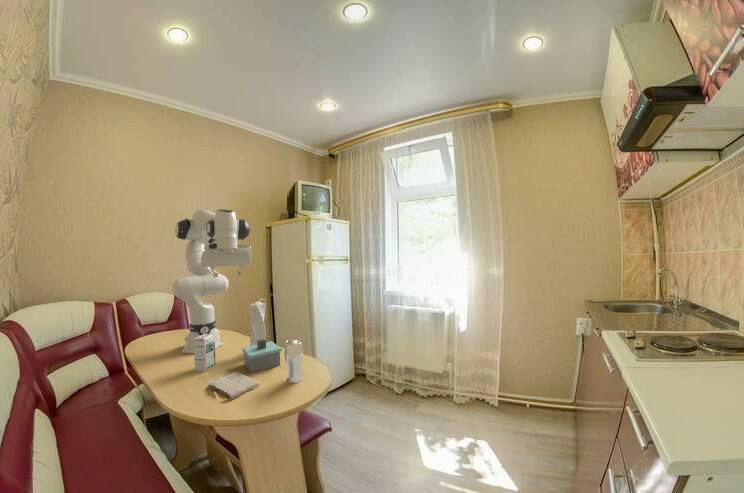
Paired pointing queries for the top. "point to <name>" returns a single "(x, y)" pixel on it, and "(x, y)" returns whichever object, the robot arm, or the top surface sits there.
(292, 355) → the beer glass
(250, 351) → the lid
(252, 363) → the box
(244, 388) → the washcloth
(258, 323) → the skyscraper
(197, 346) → the syrup box
